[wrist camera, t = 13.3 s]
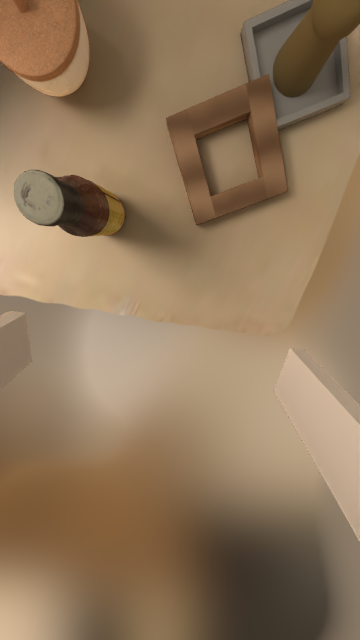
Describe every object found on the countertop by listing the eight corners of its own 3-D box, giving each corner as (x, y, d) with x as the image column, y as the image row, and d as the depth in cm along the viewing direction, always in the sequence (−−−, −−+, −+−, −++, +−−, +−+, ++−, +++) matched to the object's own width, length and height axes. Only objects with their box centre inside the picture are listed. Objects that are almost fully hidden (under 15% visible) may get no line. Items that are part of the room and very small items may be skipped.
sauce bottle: (80, 206, 36) (-28, 173, 17) (112, 184, 35) (34, 123, 16) (104, 244, 38) (31, 250, 19) (135, 224, 37) (89, 210, 18)
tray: (240, 34, 29) (244, 21, 27) (332, -9, 28) (342, -25, 26) (259, 137, 33) (263, 132, 31) (341, 104, 32) (350, 97, 30)
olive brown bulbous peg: (297, 23, 28) (365, -99, 18) (328, 63, 30) (407, -29, 19) (262, 73, 30) (306, -14, 20) (293, 109, 31) (349, 45, 21)
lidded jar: (114, 93, 31) (88, 37, 22) (46, 125, 33) (-3, 84, 24) (77, -12, 28) (30, -127, 19) (3, 28, 29) (-74, -63, 20)
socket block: (166, 125, 32) (166, 118, 31) (263, 83, 31) (268, 73, 29) (196, 225, 37) (197, 224, 35) (281, 193, 35) (287, 190, 33)
